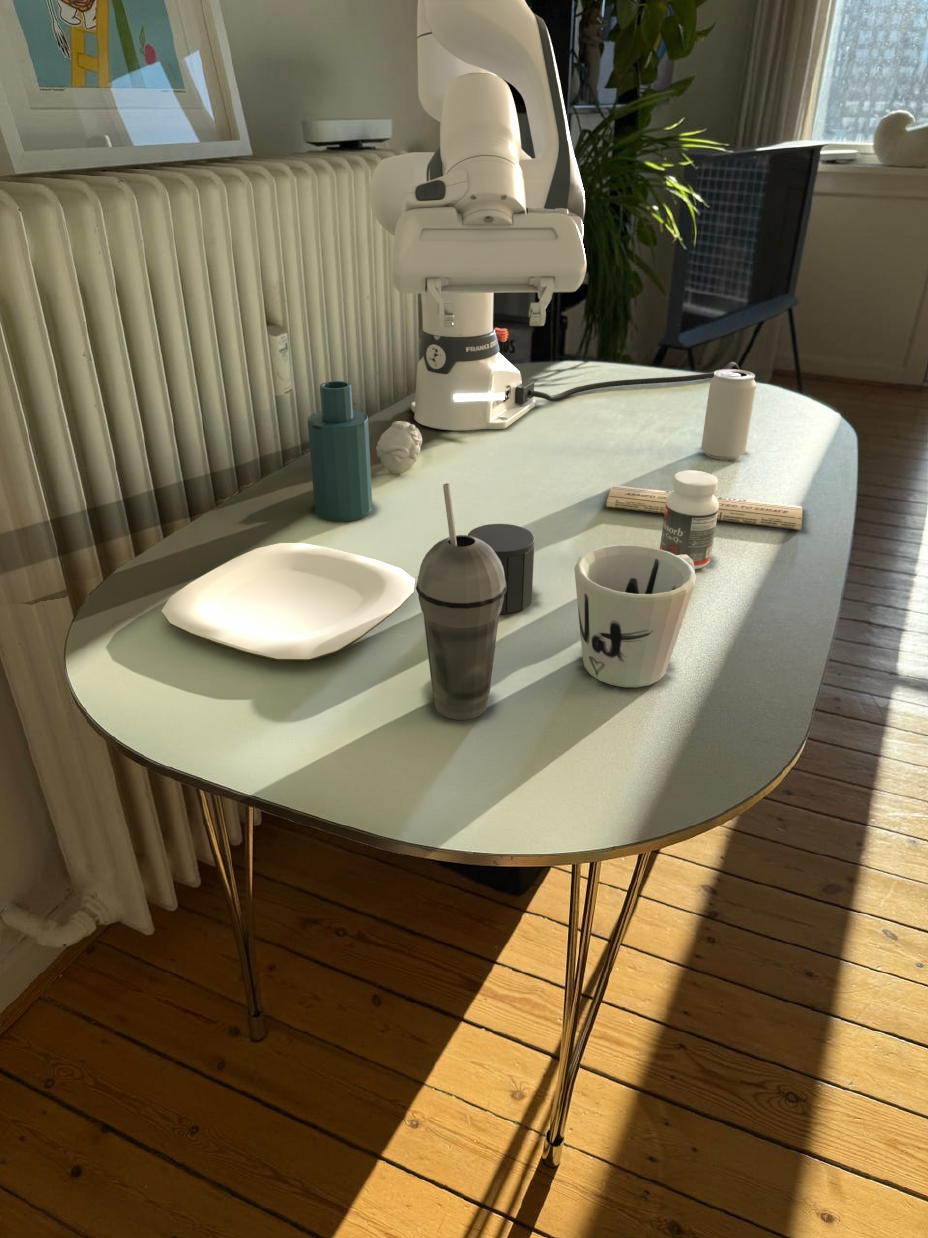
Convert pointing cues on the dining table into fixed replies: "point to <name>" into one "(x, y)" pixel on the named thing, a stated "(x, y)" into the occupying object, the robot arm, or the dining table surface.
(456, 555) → the beverage cup
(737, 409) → the beverage can
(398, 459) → the cream lumpy ball
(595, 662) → the mug
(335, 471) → the flask
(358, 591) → the plate
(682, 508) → the pill bottle
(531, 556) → the flask lid
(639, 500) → the newspaper
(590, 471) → the dining table surface
